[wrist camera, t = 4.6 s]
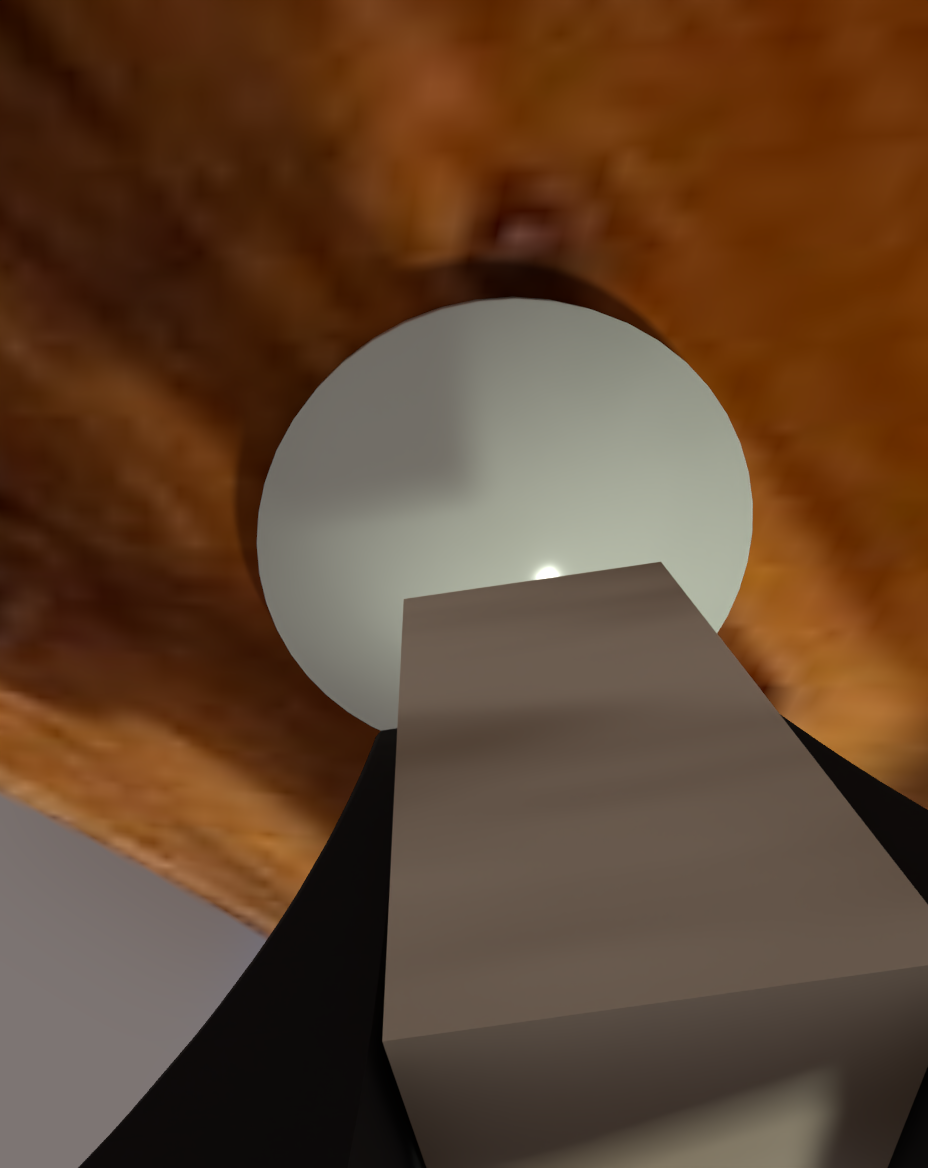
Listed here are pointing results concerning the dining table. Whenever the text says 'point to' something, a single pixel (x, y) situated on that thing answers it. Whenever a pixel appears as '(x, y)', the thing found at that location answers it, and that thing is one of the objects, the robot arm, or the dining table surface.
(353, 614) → the plate
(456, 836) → the block
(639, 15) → the dining table surface
